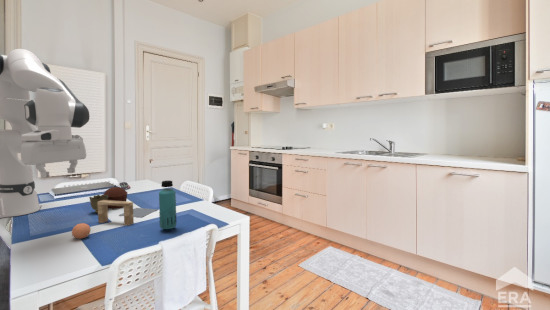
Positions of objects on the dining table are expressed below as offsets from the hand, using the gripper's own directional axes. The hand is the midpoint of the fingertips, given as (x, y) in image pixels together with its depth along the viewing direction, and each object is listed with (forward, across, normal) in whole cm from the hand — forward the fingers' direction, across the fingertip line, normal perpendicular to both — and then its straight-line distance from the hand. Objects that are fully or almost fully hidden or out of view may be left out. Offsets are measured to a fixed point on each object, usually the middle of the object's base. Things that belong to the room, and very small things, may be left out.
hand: (59, 175), depth 92 cm
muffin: (+23, -41, -14) cm, 49 cm away
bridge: (+24, -20, +4) cm, 31 cm away
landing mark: (+24, -34, +4) cm, 42 cm away
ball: (+21, -4, +3) cm, 22 cm away
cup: (+23, -31, -14) cm, 41 cm away
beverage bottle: (+25, -17, +29) cm, 42 cm away
